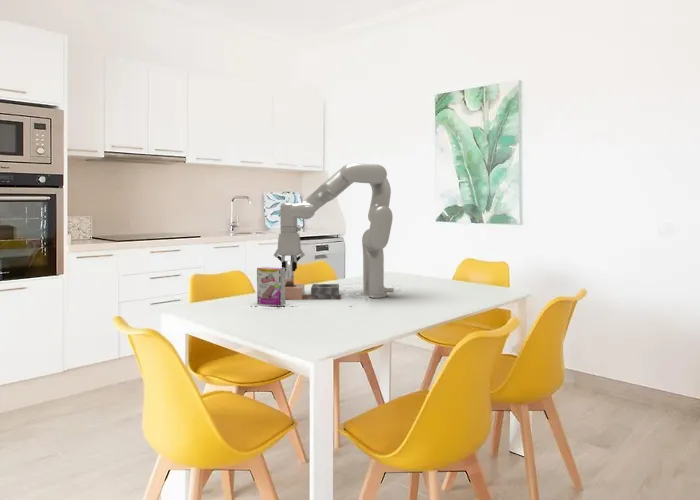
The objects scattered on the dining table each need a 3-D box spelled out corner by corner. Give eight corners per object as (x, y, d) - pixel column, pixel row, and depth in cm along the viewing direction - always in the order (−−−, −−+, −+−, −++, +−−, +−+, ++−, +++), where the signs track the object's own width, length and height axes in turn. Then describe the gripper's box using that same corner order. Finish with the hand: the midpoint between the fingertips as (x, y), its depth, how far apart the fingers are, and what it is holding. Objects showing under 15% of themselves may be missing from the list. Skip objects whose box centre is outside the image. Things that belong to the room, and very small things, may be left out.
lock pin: (294, 284, 251) (294, 260, 250) (293, 286, 247) (293, 261, 246) (285, 284, 251) (285, 260, 250) (284, 286, 247) (284, 261, 246)
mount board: (341, 296, 257) (341, 283, 256) (340, 301, 243) (340, 288, 242) (276, 296, 257) (276, 283, 256) (272, 302, 243) (272, 288, 243)
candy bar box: (256, 306, 233) (256, 267, 232) (262, 304, 238) (261, 266, 237) (280, 307, 230) (280, 268, 228) (286, 305, 234) (285, 267, 233)
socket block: (304, 294, 256) (304, 284, 255) (302, 299, 244) (301, 288, 243) (278, 294, 256) (278, 284, 255) (274, 299, 244) (274, 288, 244)
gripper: (308, 230, 251) (308, 270, 253) (271, 230, 251) (272, 269, 253) (306, 230, 244) (307, 272, 245) (269, 230, 244) (269, 271, 245)
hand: (289, 270), depth 249 cm, fingers closed on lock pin, 4 cm apart
